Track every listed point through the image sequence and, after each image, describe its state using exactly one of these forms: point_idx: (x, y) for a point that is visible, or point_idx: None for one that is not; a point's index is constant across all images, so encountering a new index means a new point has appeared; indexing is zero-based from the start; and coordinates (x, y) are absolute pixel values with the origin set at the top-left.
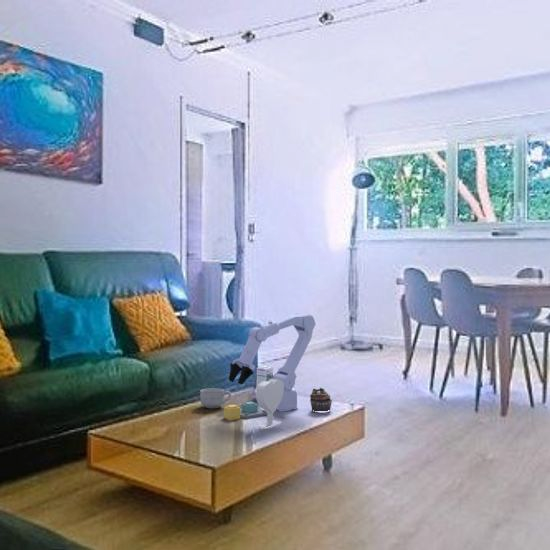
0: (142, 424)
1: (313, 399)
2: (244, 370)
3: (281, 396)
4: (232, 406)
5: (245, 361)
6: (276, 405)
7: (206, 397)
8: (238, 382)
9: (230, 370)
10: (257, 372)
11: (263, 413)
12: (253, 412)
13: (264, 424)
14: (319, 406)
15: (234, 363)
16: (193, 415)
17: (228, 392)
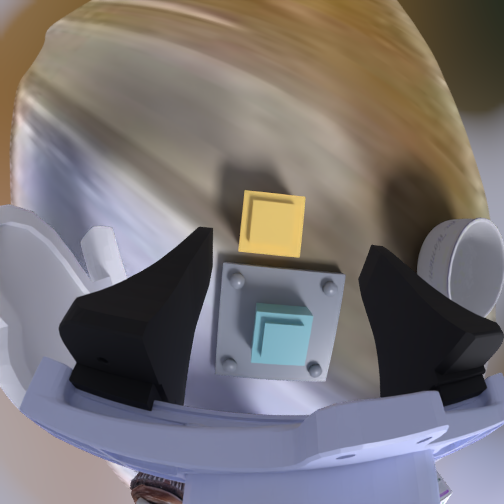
0: (365, 7)
1: (153, 486)
2: (100, 296)
3: None
4: (258, 215)
5: (195, 486)
6: None
7: (455, 223)
8: (200, 228)
9: (439, 293)
10: (443, 484)
11: (216, 350)
12: (250, 327)
13: (104, 257)
14: (142, 473)
15: (480, 386)
16: (390, 139)
17: None
